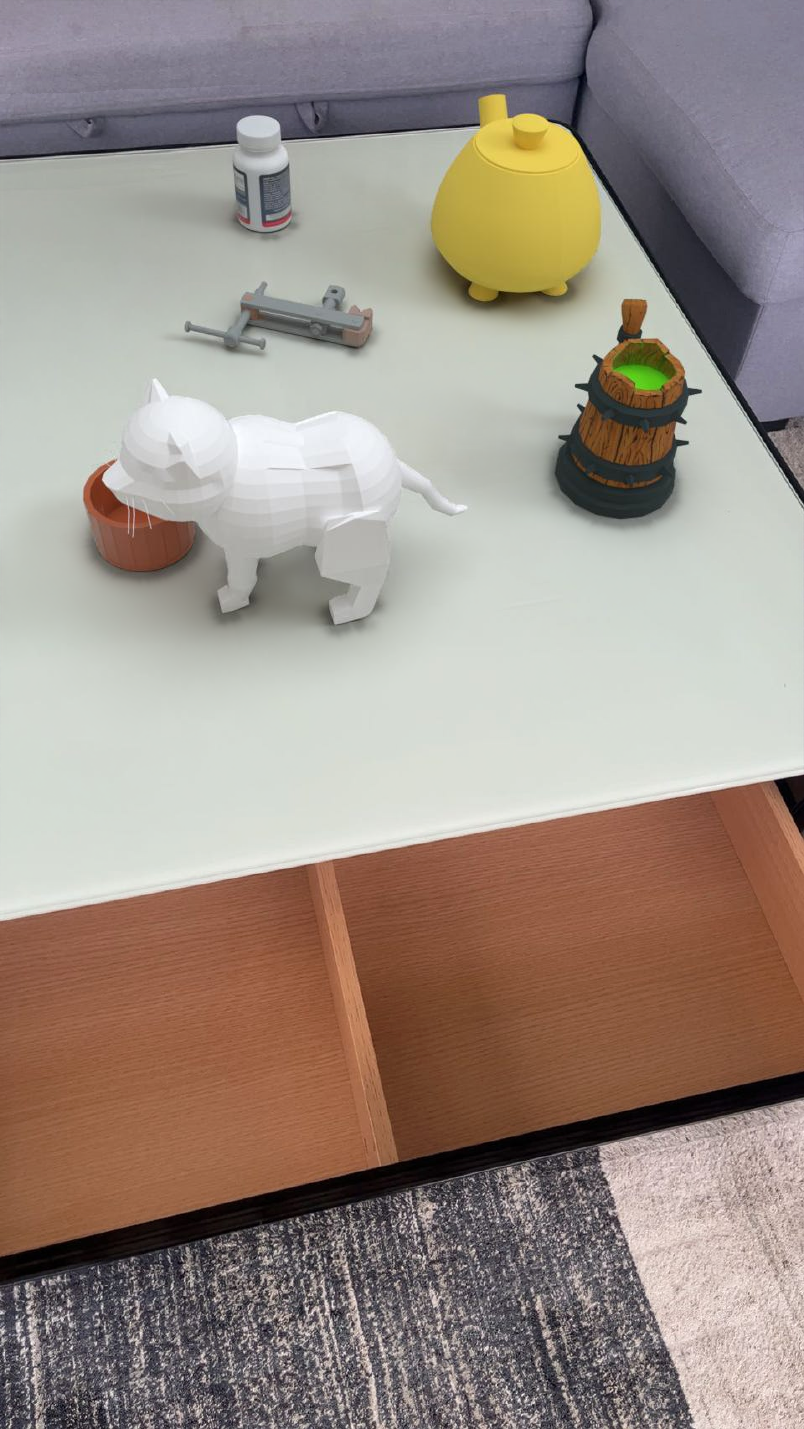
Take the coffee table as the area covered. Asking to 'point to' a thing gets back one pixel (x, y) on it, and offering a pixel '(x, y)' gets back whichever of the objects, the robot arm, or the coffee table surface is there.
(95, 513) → the cup
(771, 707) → the coffee table surface
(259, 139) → the pill bottle
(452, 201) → the teapot
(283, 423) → the cat figurine
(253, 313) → the clamp
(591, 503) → the mug
